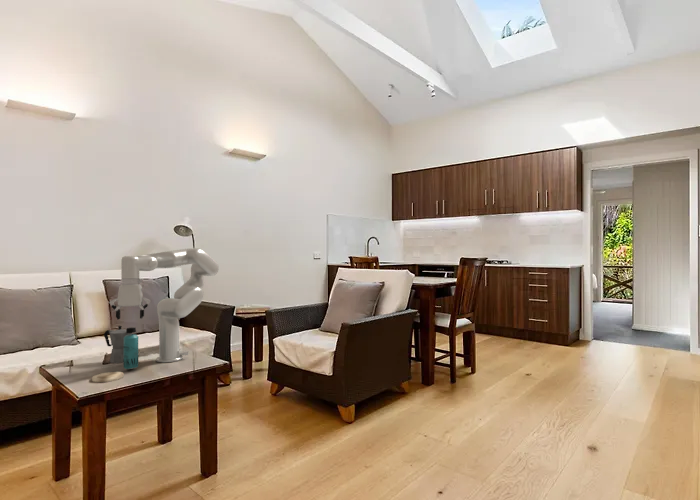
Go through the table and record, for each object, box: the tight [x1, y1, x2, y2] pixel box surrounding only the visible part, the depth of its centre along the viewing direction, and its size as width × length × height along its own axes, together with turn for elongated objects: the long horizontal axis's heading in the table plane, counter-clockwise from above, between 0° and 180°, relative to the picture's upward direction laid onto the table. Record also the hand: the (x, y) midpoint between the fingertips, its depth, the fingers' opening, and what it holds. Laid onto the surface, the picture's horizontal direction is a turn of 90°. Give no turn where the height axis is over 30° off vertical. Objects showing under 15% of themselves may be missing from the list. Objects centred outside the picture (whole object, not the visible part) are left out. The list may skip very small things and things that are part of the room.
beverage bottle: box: [122, 327, 140, 370], centre depth 195 cm, size 6×7×20 cm
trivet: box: [91, 371, 125, 384], centre depth 182 cm, size 12×12×1 cm
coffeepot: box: [103, 325, 133, 364], centre depth 212 cm, size 15×9×18 cm, turn 82°
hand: (130, 318), depth 195 cm, fingers open, 9 cm apart
